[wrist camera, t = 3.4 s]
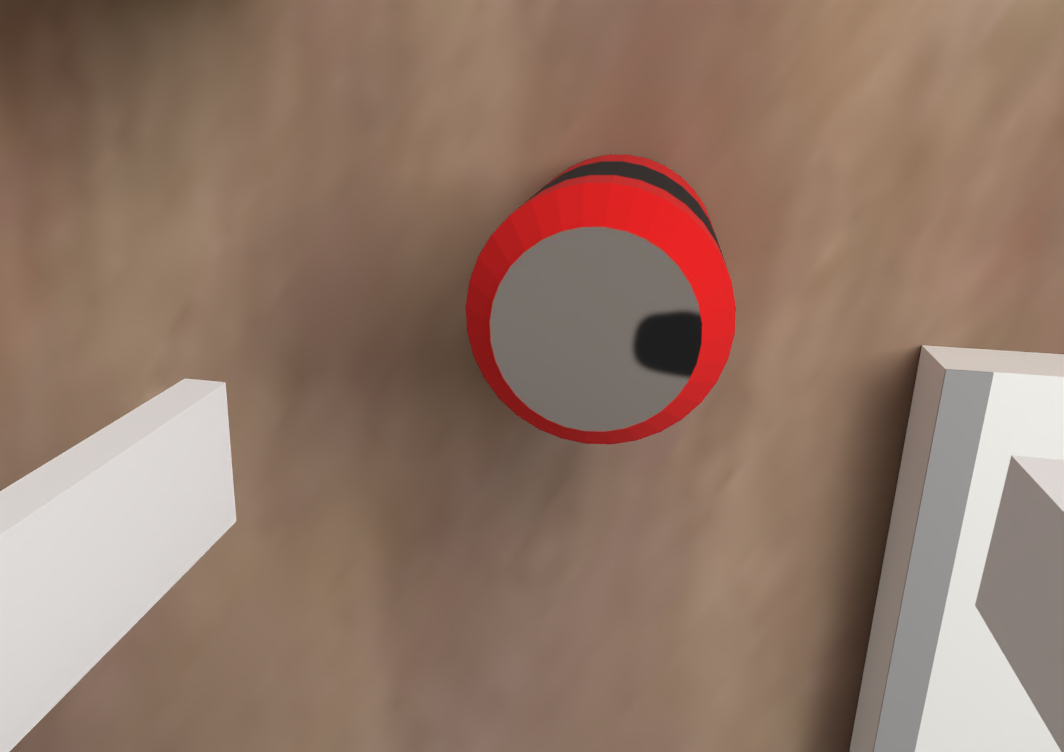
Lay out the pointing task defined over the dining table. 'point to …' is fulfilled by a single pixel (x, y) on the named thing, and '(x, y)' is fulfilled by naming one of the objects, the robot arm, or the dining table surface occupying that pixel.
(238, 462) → the dining table surface
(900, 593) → the dock
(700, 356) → the soda can
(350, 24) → the dining table surface
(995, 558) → the robot arm
